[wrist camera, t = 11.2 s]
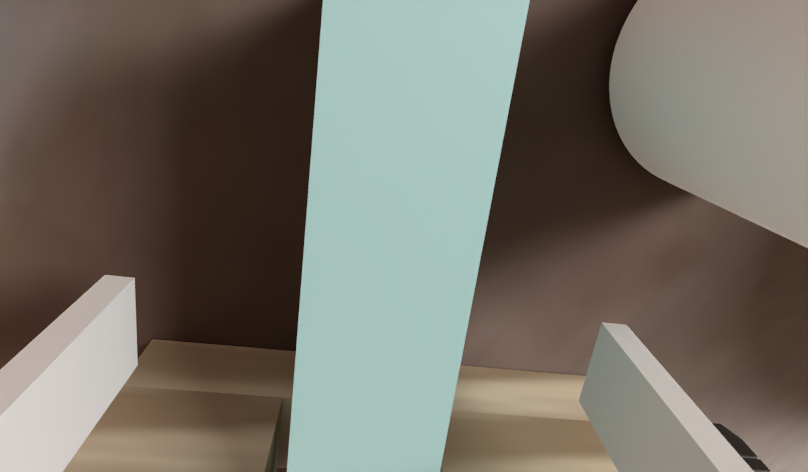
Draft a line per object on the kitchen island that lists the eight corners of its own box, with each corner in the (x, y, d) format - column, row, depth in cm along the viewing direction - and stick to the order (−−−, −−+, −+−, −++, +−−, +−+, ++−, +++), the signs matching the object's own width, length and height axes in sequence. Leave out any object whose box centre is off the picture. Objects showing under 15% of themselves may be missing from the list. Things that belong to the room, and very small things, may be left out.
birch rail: (152, 338, 21) (53, 474, 14) (644, 380, 23) (753, 516, 16) (153, 404, 22) (61, 558, 15) (625, 438, 24) (722, 589, 17)
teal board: (349, -25, 17) (329, -90, 9) (458, -9, 18) (540, -56, 9) (304, 478, 24) (267, 720, 15) (384, 483, 24) (392, 722, 16)
